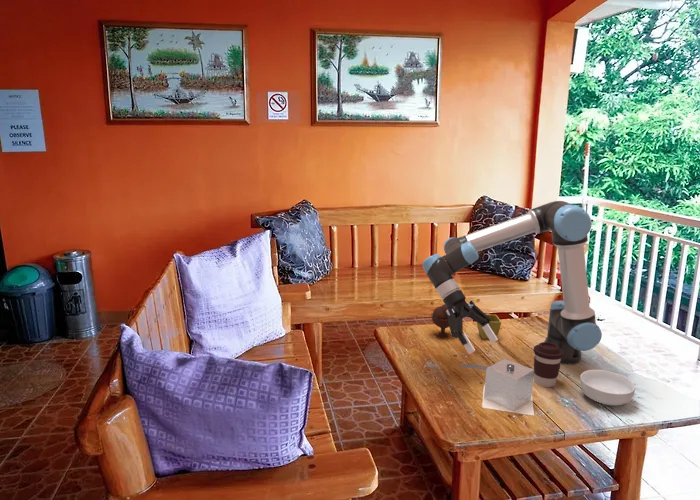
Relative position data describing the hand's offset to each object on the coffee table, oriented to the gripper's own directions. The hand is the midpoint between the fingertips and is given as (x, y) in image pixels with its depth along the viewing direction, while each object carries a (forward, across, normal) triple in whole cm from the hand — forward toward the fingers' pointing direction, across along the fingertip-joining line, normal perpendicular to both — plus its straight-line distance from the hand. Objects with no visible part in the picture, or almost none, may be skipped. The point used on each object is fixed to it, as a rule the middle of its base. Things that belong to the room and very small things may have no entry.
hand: (484, 346), depth 177 cm
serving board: (+19, 0, -4) cm, 19 cm away
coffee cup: (+21, -21, -3) cm, 30 cm away
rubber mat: (+7, -9, -16) cm, 20 cm away
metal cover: (+18, 0, -3) cm, 18 cm away
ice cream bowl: (-16, -28, -39) cm, 51 cm away
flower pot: (-6, -42, -30) cm, 52 cm away
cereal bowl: (+34, -27, +11) cm, 45 cm away
